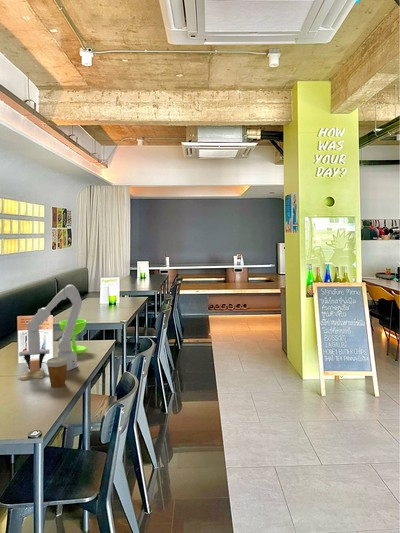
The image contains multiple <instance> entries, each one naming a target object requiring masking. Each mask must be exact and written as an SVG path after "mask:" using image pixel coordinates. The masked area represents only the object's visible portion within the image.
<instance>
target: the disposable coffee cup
mask: <svg viewBox="0 0 400 533" xmlns="http://www.w3.org/2000/svg"><path fill="white" fill-rule="evenodd" d="M67 362H68V361H67V358H65V357H58V356H57V357H52V358H48V359H47V360H46V363H45V364H46V366H47V371H48V378H49V382H50V387H52V388H60V387H63V386H66V378H67V377H66V376H67V370H66V368H67Z"/></svg>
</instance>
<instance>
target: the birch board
mask: <svg viewBox="0 0 400 533" xmlns="http://www.w3.org/2000/svg"><path fill="white" fill-rule="evenodd" d="M44 376H45V370H40V371H34V372H30V371H25V372H22V374H21V376H20V380H21V381H24V380H33V379H43V378H44Z"/></svg>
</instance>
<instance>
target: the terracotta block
mask: <svg viewBox="0 0 400 533" xmlns="http://www.w3.org/2000/svg"><path fill="white" fill-rule="evenodd" d="M34 371H41V368H40V361H39V357H37V358H30V370H29V372H34Z"/></svg>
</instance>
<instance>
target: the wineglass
mask: <svg viewBox="0 0 400 533" xmlns="http://www.w3.org/2000/svg"><path fill="white" fill-rule="evenodd" d="M67 320H68V319H65V320H61V321H59V322H58V324H59V328H60V329H61V331H62V333H64V330H65V326H66V323H67ZM86 326H87V319H83V318H82V319H81V318H77V321H76V325H75V328H74V331H73V334H72V339H71V349H72V351H73V352H75V353H76V354H82V353H85V352H87V351H88V348H87V347H86V346H85V345H84V346H83V345H76V335H78V334H80V333H81V332H83V330H85V327H86Z"/></svg>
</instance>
